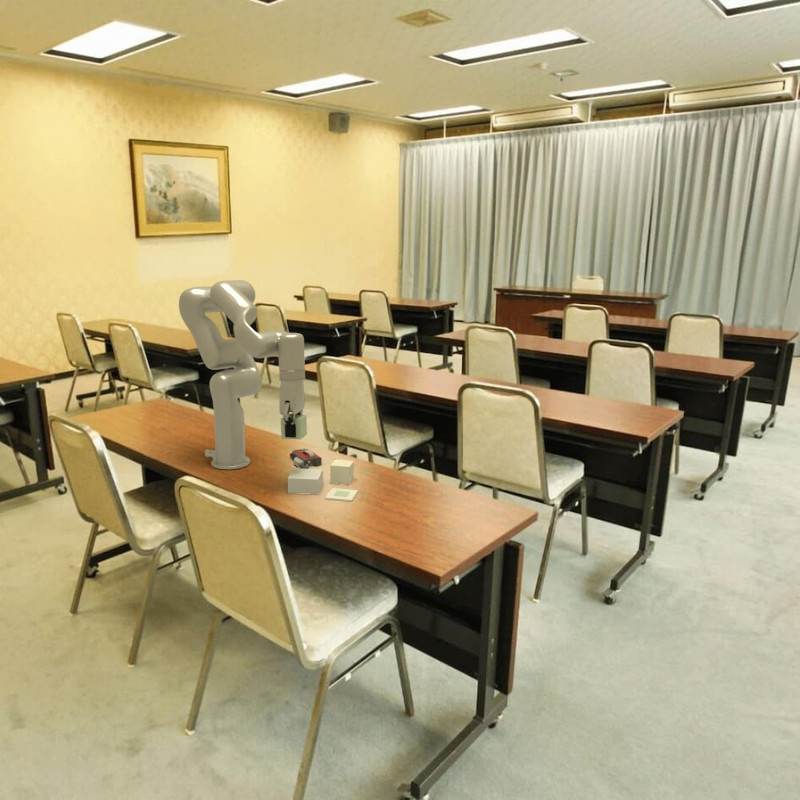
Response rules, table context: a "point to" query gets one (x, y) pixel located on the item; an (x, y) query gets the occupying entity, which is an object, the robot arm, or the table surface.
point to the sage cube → (300, 427)
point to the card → (341, 494)
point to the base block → (305, 481)
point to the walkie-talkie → (305, 458)
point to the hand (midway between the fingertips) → (294, 433)
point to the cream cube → (342, 471)
